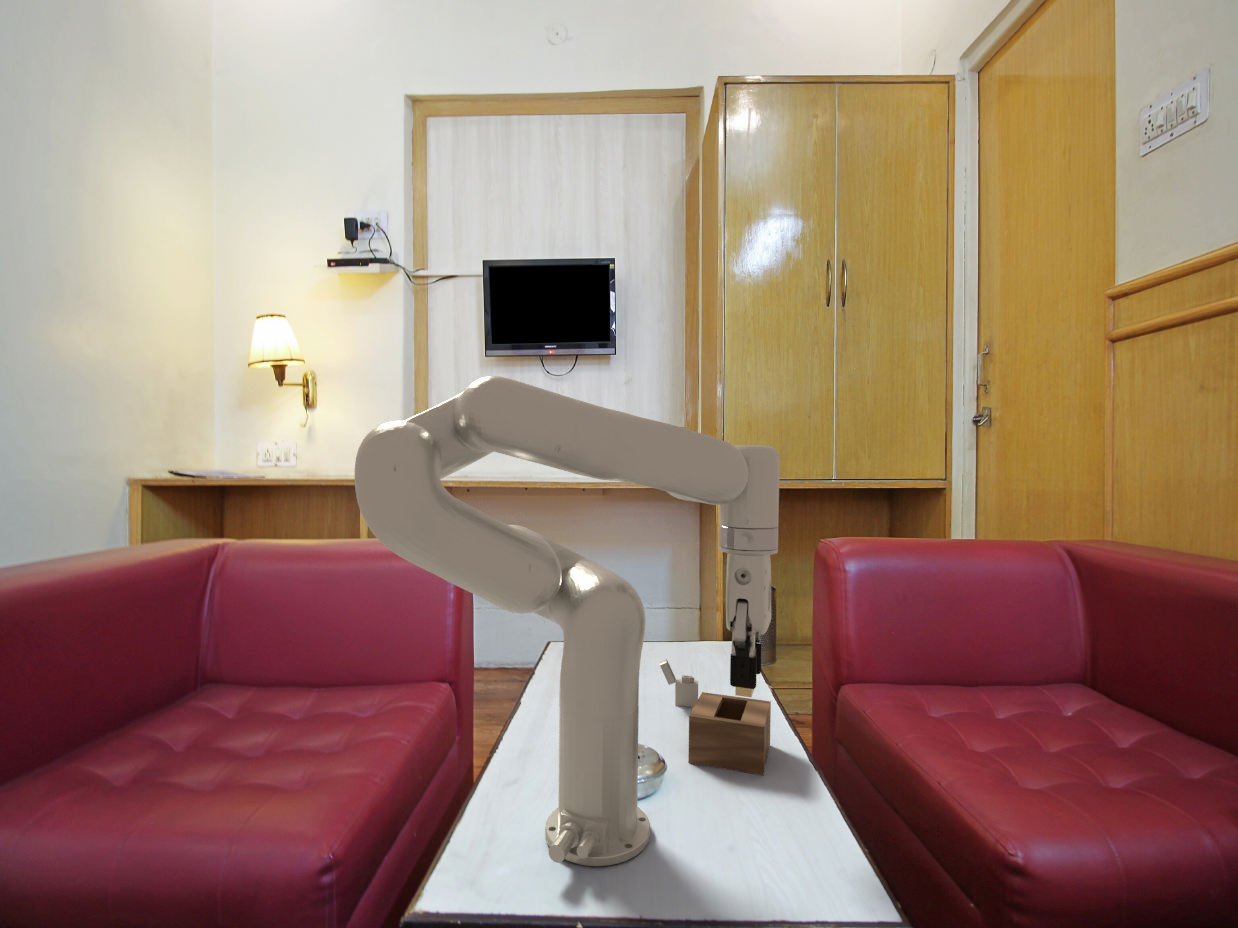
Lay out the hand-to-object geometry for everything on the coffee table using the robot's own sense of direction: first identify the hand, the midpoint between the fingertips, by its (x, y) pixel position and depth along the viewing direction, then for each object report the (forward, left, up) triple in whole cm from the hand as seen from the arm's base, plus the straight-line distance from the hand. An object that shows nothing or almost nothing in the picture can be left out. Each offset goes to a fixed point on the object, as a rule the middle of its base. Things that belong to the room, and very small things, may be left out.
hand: (746, 678), depth 81 cm
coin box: (+14, +4, -17) cm, 22 cm away
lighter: (+30, +16, -17) cm, 38 cm away
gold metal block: (0, 0, -1) cm, 1 cm away
